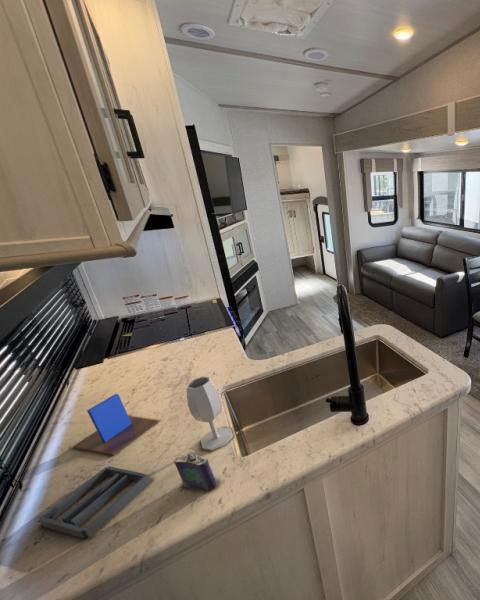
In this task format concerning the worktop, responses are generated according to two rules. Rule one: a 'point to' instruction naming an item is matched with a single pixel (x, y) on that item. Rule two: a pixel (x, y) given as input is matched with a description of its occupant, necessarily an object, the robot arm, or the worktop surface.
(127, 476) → the rack
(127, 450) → the worktop surface
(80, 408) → the worktop surface
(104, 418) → the lid
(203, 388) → the wineglass
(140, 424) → the board
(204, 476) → the flask
